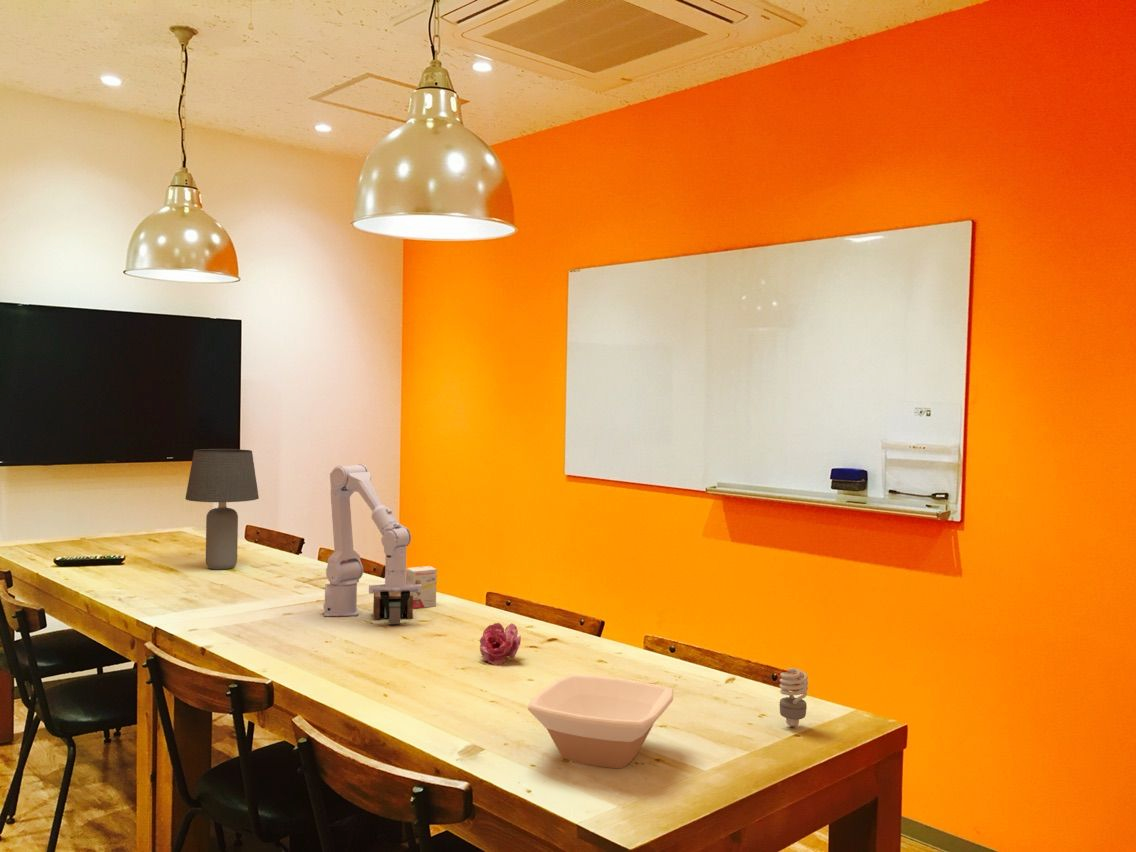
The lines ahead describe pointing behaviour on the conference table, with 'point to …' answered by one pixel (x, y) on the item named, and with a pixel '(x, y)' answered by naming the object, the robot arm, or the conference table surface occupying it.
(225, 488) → the lamp
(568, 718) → the bowl
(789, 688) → the light bulb
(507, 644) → the flower
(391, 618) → the block with rod
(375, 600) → the walnut cubby
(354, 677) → the conference table surface
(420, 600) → the ink box
